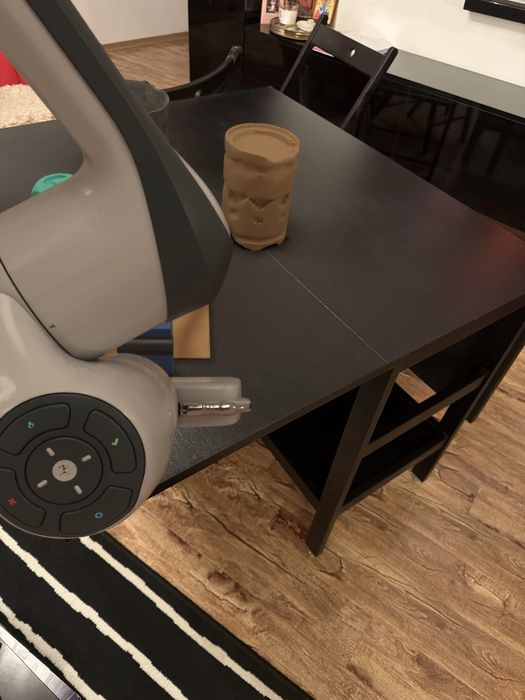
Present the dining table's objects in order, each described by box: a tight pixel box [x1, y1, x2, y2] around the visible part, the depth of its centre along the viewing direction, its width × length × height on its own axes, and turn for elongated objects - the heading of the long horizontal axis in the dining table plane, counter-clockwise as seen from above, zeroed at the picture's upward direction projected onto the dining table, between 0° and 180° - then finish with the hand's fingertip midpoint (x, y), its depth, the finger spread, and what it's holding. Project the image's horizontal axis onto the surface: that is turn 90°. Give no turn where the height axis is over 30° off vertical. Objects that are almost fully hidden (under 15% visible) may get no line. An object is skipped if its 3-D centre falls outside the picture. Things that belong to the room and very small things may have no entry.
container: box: [221, 122, 301, 252], centre depth 86 cm, size 13×13×18 cm
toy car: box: [117, 320, 176, 377], centre depth 61 cm, size 6×6×12 cm
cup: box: [124, 78, 170, 143], centre depth 99 cm, size 18×18×15 cm
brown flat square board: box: [104, 304, 211, 360], centre depth 73 cm, size 16×16×1 cm
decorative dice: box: [30, 172, 74, 198], centre depth 85 cm, size 8×8×8 cm
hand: (140, 389), depth 50 cm, fingers closed
